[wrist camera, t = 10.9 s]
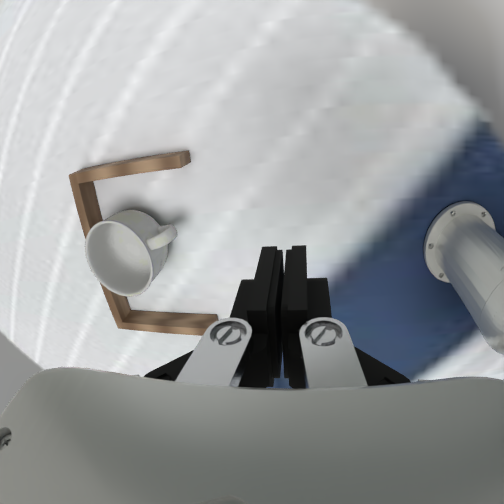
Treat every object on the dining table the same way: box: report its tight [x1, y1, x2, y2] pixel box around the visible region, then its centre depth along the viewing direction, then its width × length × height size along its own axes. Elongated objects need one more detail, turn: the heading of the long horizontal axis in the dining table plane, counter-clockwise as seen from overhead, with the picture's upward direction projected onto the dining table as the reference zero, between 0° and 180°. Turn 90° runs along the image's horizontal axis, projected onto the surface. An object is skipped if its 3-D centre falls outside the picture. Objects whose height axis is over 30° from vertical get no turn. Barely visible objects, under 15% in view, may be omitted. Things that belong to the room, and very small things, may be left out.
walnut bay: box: [69, 151, 218, 336], centre depth 43 cm, size 18×27×4 cm, turn 5°
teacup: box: [85, 210, 177, 297], centre depth 40 cm, size 14×11×8 cm
